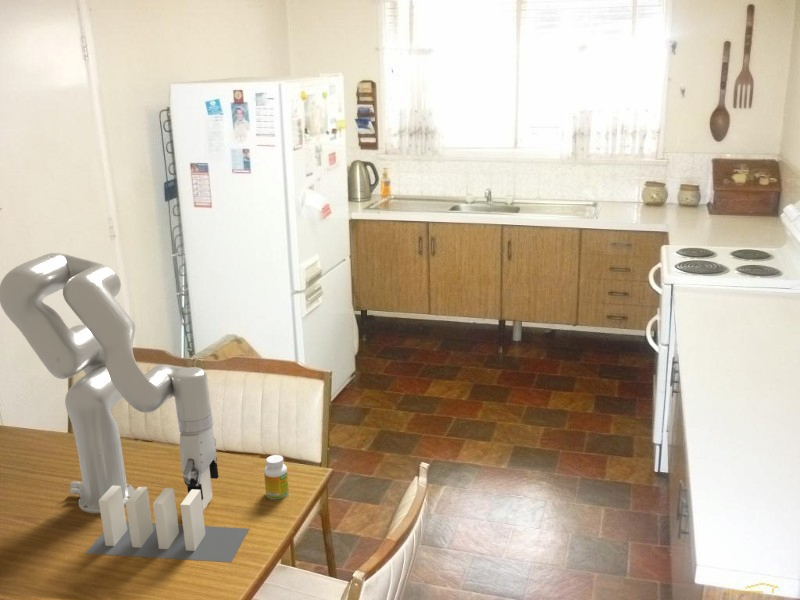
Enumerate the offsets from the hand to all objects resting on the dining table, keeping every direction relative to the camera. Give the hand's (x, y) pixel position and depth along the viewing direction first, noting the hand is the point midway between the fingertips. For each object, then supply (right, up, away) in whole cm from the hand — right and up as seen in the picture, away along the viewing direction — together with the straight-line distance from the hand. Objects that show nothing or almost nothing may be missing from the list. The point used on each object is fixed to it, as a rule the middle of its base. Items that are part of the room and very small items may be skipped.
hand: (204, 488), depth 177 cm
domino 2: (-10, -8, -12) cm, 18 cm away
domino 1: (-16, -8, -11) cm, 21 cm away
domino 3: (-4, -8, -13) cm, 16 cm away
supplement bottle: (+16, -3, +5) cm, 17 cm away
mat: (-4, -9, -13) cm, 16 cm away
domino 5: (+2, -8, -14) cm, 16 cm away
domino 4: (0, -4, +1) cm, 5 cm away
